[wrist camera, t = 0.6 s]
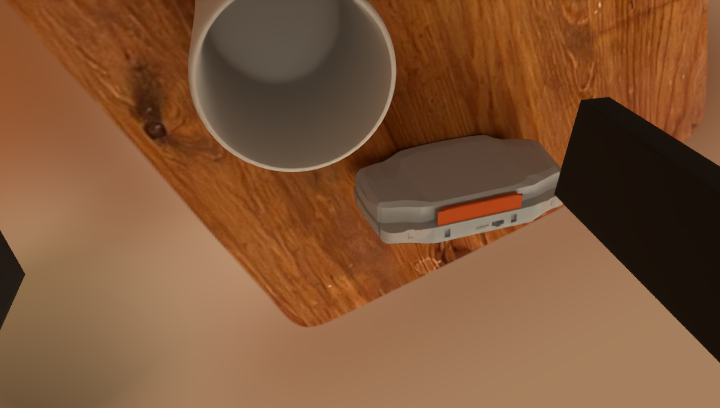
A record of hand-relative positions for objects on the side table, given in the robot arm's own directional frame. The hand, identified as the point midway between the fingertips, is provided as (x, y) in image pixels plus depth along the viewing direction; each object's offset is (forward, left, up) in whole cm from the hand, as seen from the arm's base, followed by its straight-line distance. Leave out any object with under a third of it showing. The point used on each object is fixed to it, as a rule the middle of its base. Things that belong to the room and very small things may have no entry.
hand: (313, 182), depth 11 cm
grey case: (+13, +12, -21) cm, 27 cm away
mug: (0, 0, -21) cm, 21 cm away
